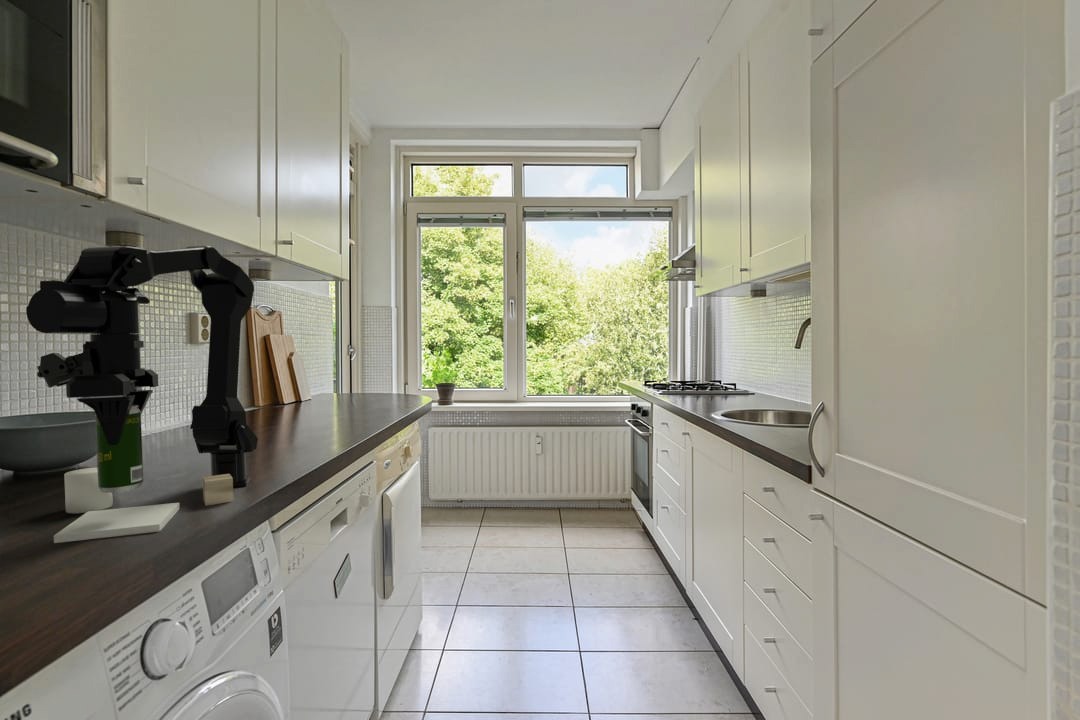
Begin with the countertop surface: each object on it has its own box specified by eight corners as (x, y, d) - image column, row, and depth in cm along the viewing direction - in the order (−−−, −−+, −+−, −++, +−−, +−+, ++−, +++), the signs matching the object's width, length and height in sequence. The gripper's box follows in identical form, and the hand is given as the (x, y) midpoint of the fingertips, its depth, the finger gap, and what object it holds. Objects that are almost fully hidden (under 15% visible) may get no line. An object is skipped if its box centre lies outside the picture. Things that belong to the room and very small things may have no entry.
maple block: (203, 500, 97) (202, 477, 97) (230, 496, 99) (229, 473, 99) (205, 506, 94) (204, 481, 94) (233, 501, 96) (232, 477, 96)
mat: (88, 518, 88) (88, 511, 88) (179, 508, 92) (179, 502, 92) (53, 543, 76) (53, 535, 76) (159, 531, 81) (159, 524, 81)
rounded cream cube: (74, 505, 95) (73, 469, 95) (117, 501, 97) (116, 465, 97) (59, 515, 90) (57, 476, 89) (105, 510, 92) (104, 473, 92)
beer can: (151, 483, 87) (148, 403, 87) (130, 492, 82) (126, 408, 81) (113, 484, 86) (109, 404, 86) (89, 494, 81) (85, 409, 81)
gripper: (73, 335, 89) (77, 436, 90) (12, 333, 72) (18, 458, 72) (157, 334, 93) (161, 431, 94) (119, 332, 76) (124, 451, 76)
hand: (119, 441), depth 84 cm, fingers closed on beer can, 5 cm apart
